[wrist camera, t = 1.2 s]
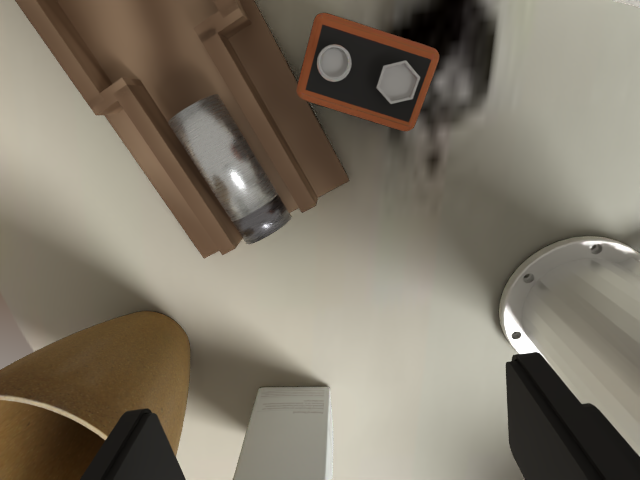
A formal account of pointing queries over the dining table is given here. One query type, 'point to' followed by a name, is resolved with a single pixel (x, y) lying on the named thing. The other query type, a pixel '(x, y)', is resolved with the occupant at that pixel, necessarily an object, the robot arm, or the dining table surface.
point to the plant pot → (90, 394)
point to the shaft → (230, 168)
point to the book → (630, 2)
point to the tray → (191, 96)
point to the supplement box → (288, 436)
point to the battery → (366, 72)
